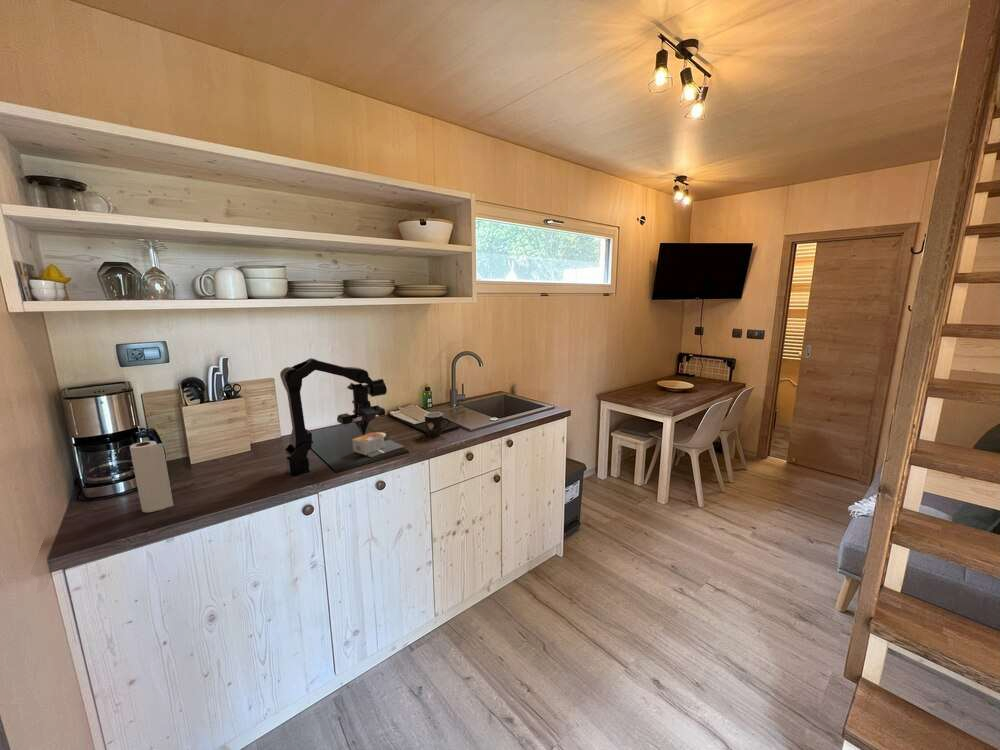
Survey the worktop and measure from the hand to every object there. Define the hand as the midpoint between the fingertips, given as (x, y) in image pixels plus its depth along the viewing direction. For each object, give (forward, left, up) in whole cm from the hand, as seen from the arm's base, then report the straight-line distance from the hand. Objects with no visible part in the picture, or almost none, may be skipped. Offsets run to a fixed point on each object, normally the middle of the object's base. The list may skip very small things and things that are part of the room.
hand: (363, 434), depth 166 cm
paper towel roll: (-67, +6, -9) cm, 68 cm away
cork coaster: (+14, +16, -8) cm, 23 cm away
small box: (-2, +1, -5) cm, 6 cm away
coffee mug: (+35, -3, -9) cm, 36 cm away
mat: (+8, 0, -8) cm, 11 cm away
